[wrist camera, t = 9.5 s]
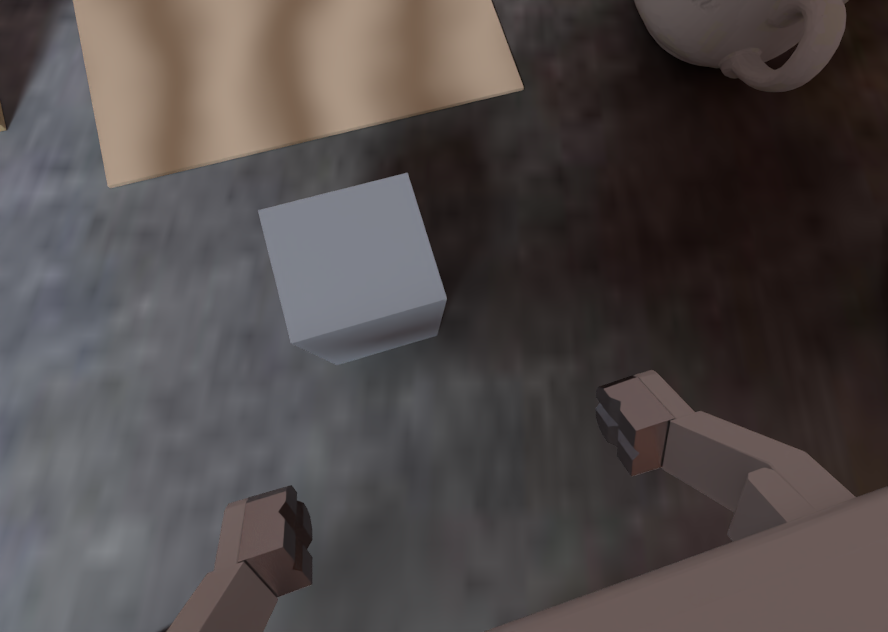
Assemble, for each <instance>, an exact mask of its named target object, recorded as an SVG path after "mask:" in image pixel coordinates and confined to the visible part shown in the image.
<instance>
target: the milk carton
mask: <svg viewBox="0 0 888 632" xmlns="http://www.w3.org/2000/svg"><path fill="white" fill-rule="evenodd" d="M5 130H6V125H5V121H4V116H3V111H2V107H1V102H0V132H1V131H5Z"/></svg>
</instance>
